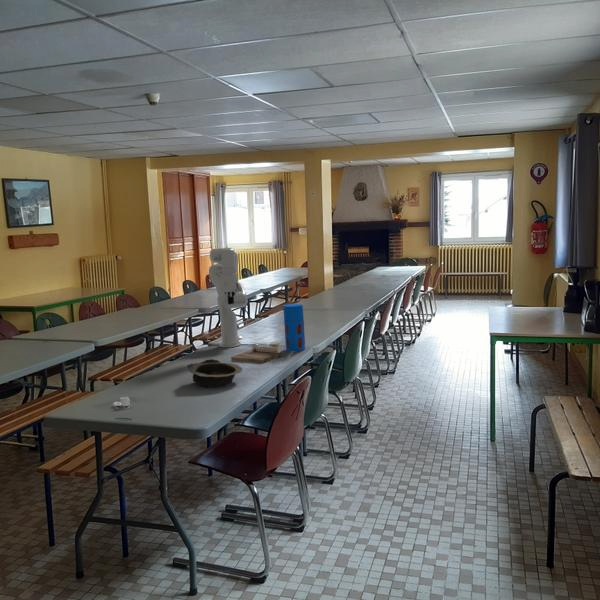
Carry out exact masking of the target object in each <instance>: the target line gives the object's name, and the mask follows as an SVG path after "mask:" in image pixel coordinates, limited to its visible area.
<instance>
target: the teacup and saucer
mask: <svg viewBox="0 0 600 600" xmlns="http://www.w3.org/2000/svg"><path fill="white" fill-rule="evenodd" d="M130 403H131V399H130V398H129V396H122V397H120V401H115V402H113V403H112V406H113V407H114V406H121V405H122V406H128V407H129V405H130ZM122 406H121V407H122Z"/></svg>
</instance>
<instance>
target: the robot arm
mask: <svg viewBox="0 0 600 600" xmlns="http://www.w3.org/2000/svg"><path fill="white" fill-rule="evenodd" d="M209 260H210V261H211V263H215V264H212V265H210V266H209V268H208V274H209V275H208V276H209V279H210V281H211V283H212V284H213V286H214V287H215V291H216V293H217V297H216V298H217V300H216V301H217V305H218V311H219V321H220V332H221V333H220V334H221V336H220V337H221V343H219V347H220V348H236V347H239V346H241V345H242V343H241V341H240V340H242V339H243V336H239V335H238V334H239V333H238V322H237V321H238V320H237V315H236V312H234V311H233V310H232V309H239V308H245V307H246V306H247V304H248V302H249V301H248V296H247V293H246V291H245V287H244V286H243V284H242V282H241V283H240V282H239V278H238V267H239V266H238V265H239V255H238V253H237V251H236V250H235V248H233V247H222V248H221V247H220V248H211V250H210V251H209Z"/></svg>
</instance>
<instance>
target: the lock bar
mask: <svg viewBox="0 0 600 600" xmlns="http://www.w3.org/2000/svg"><path fill="white" fill-rule="evenodd" d="M251 348H252V349H251V350H253V351H260V352H270V353H280V352H281V351H282V349H281V348H282V347H281V346H279V347H275V346H269V345H262V344H260V343H253V344H252V345H251Z"/></svg>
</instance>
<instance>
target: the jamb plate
mask: <svg viewBox="0 0 600 600" xmlns="http://www.w3.org/2000/svg"><path fill="white" fill-rule="evenodd" d="M284 354H285V353H284V350H281V352H280V353H270V352H260V351H253V350H252V349H249V350H247V351H243V352H242V353H238V354H236V355H233V356H231V357H230V358H231V361H232V362H240V363H250V364H251V363H254V364H263V365H264V364H267V362H270V361H273V360H276V359H278V358H280V357H282V356H284Z"/></svg>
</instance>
